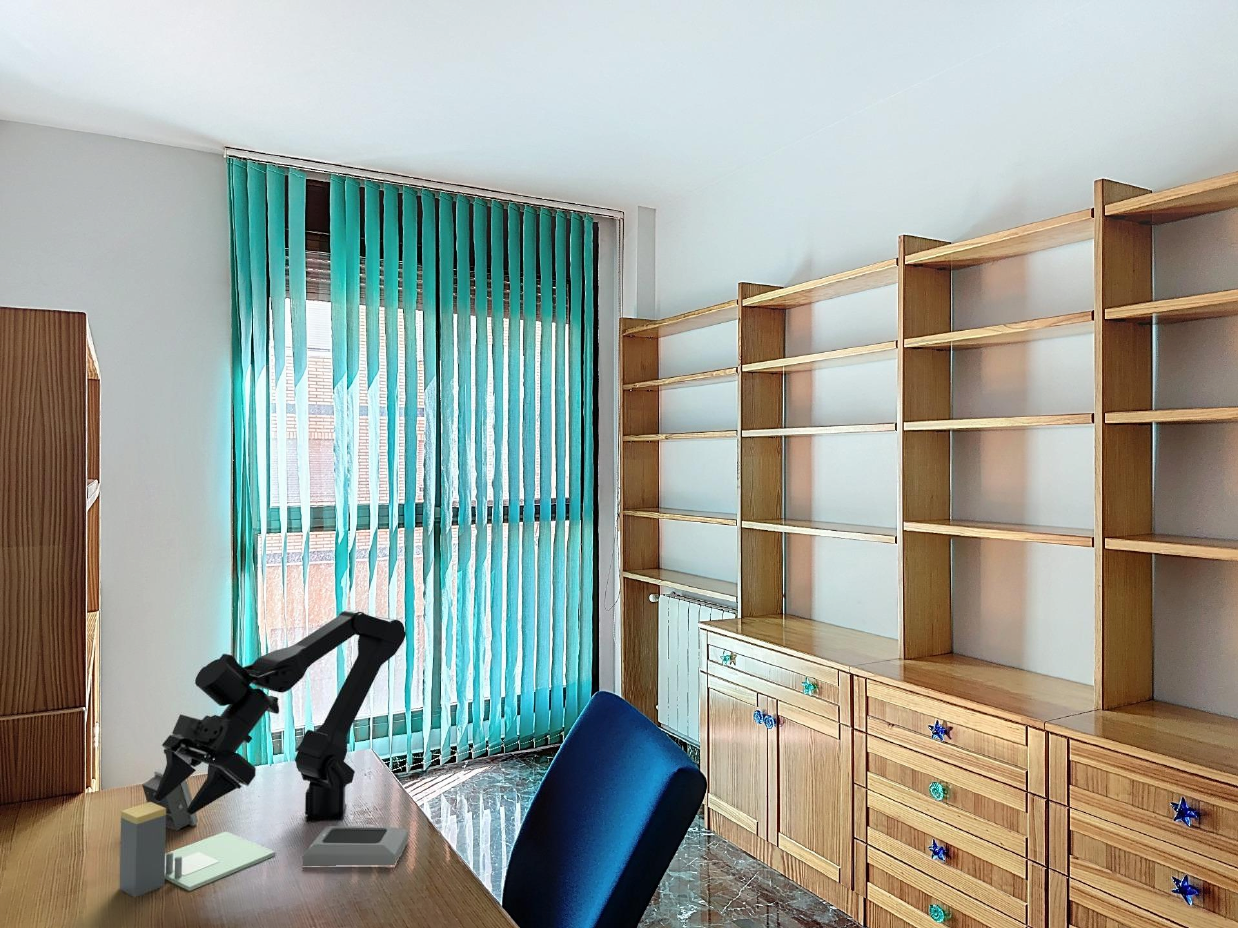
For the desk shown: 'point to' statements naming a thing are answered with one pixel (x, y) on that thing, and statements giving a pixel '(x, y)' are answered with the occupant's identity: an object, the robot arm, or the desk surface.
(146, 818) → the plug block
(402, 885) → the desk surface
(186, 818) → the electrical switch
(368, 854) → the grey beveled box
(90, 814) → the desk surface
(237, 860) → the board
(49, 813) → the desk surface
